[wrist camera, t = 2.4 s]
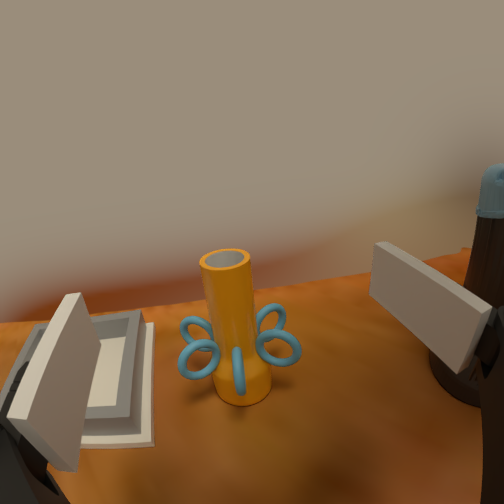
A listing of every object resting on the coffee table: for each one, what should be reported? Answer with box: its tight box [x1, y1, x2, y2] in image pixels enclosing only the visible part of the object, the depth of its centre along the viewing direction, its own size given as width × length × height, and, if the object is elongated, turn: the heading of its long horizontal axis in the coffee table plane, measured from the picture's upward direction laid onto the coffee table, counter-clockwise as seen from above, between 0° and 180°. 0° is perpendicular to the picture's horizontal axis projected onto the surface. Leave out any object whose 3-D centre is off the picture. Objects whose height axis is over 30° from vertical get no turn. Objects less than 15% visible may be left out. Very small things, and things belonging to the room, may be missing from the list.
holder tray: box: [0, 310, 155, 449], centre depth 28 cm, size 20×20×4 cm
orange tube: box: [178, 249, 302, 406], centre depth 26 cm, size 12×10×15 cm
